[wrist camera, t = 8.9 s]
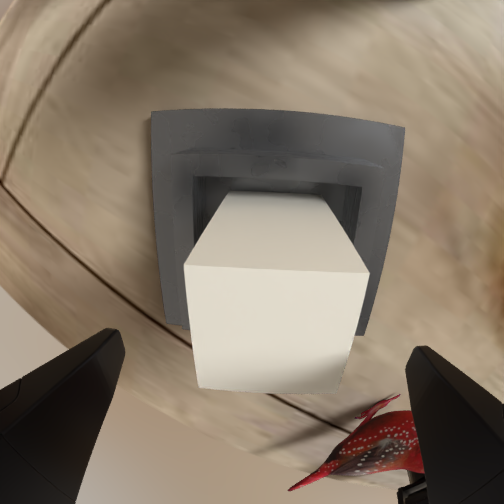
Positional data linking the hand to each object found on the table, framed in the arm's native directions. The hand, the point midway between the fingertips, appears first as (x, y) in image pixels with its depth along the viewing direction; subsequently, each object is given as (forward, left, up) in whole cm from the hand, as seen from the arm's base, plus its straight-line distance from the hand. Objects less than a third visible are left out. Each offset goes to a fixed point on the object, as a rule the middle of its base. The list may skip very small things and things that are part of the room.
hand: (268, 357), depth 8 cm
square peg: (0, 0, -10) cm, 10 cm away
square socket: (0, 0, -11) cm, 11 cm away
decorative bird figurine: (-19, -10, -11) cm, 24 cm away
